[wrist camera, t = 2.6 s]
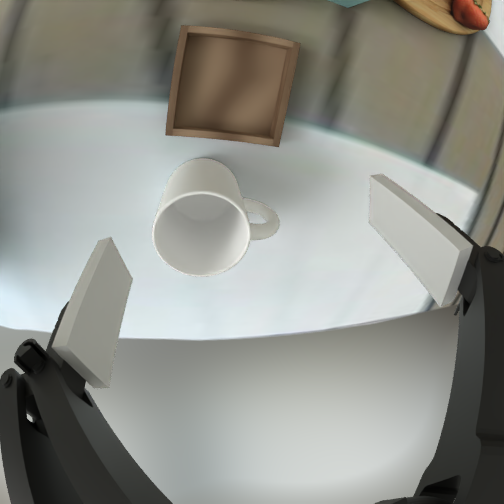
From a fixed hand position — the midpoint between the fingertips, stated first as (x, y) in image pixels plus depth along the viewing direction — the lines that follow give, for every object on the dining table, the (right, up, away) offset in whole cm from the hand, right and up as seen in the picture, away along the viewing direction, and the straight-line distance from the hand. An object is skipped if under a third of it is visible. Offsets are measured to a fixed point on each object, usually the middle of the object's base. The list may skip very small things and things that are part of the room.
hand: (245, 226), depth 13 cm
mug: (-4, +6, +19) cm, 20 cm away
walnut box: (-2, +16, +12) cm, 20 cm away
